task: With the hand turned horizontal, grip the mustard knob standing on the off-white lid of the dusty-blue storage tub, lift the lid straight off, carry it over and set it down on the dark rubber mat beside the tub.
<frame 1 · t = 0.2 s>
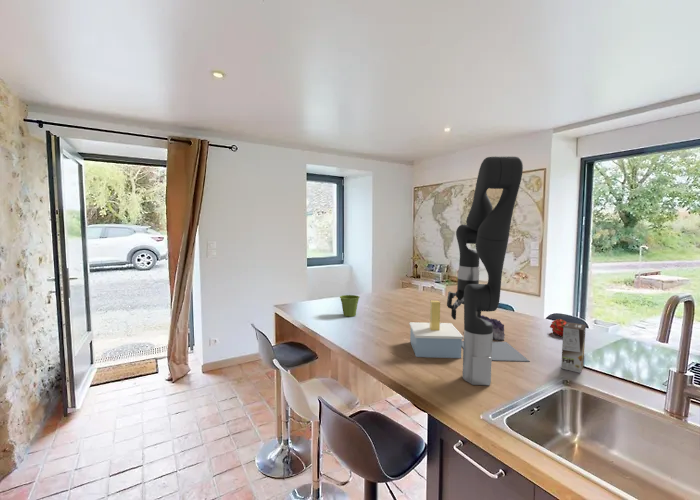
hand: (465, 319, 129), 17 cm above the worktop, fingers open, 8 cm apart
tub: (434, 349, 145), on the worktop
lid: (434, 331, 145), point 8 cm above the worktop, touching tub
plant pot: (349, 315, 200), on the worktop
geode: (487, 335, 167), on the worktop
coffee box: (572, 367, 128), on the worktop
mat: (490, 350, 144), on the worktop
dragon fruit: (561, 335, 166), on the worktop
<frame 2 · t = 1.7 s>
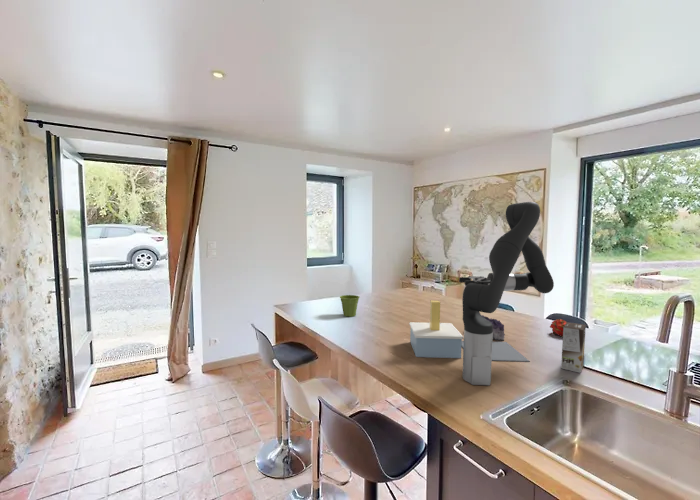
hand: (462, 281, 143), 30 cm above the worktop, fingers open, 8 cm apart
nothing on the worktop moved.
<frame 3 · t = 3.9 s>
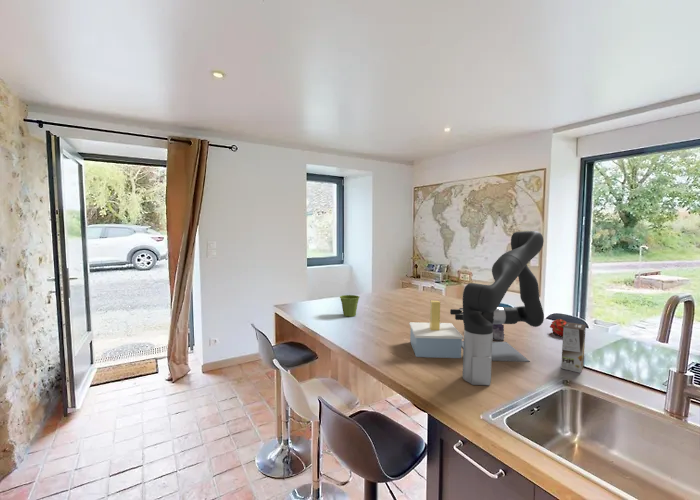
hand: (452, 314, 144), 16 cm above the worktop, fingers open, 8 cm apart
nothing on the worktop moved.
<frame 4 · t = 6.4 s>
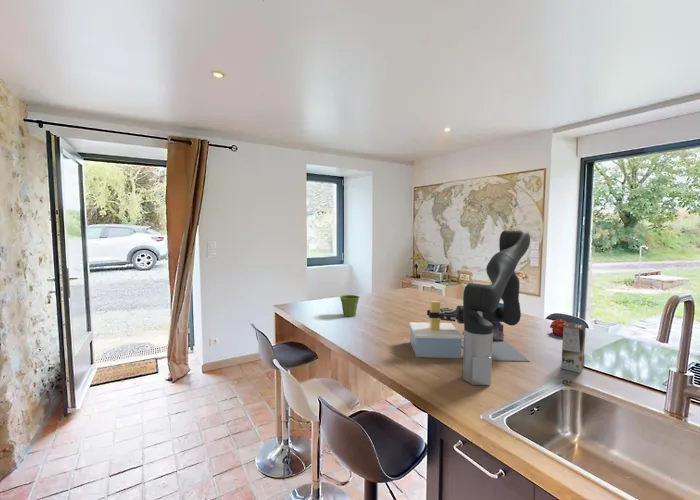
hand: (428, 313, 144), 16 cm above the worktop, fingers closed on lid, 3 cm apart
lid: (434, 331, 145), point 8 cm above the worktop, touching gripper, tub
everything else where it was.
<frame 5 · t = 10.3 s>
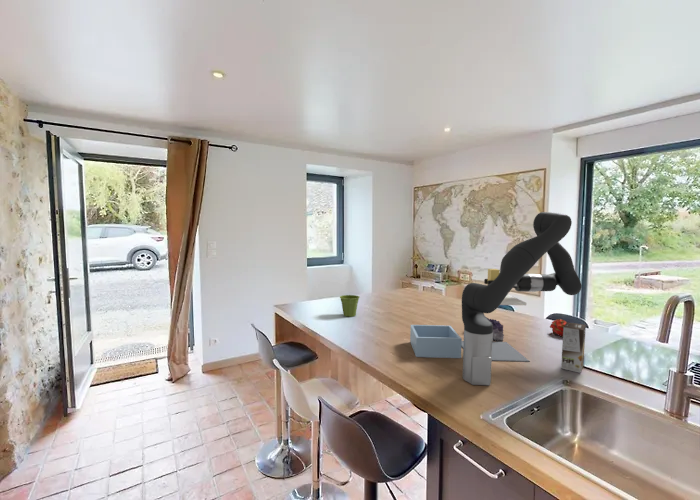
hand: (486, 282, 142), 30 cm above the worktop, fingers closed on lid, 3 cm apart
lid: (492, 299, 143), point 22 cm above the worktop, touching gripper
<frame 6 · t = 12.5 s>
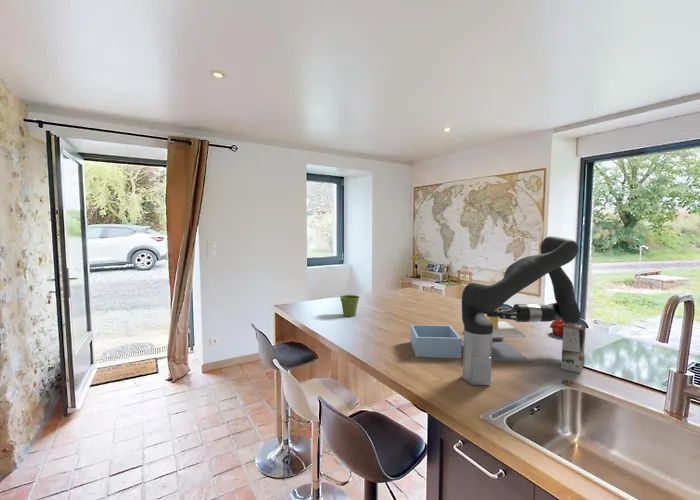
hand: (485, 312, 143), 17 cm above the worktop, fingers closed on lid, 3 cm apart
lid: (491, 330, 144), point 9 cm above the worktop, touching gripper
when the fingers open (9 cm above the worktop, at t = 14.3 s): lid drops 1 cm, resting on mat.
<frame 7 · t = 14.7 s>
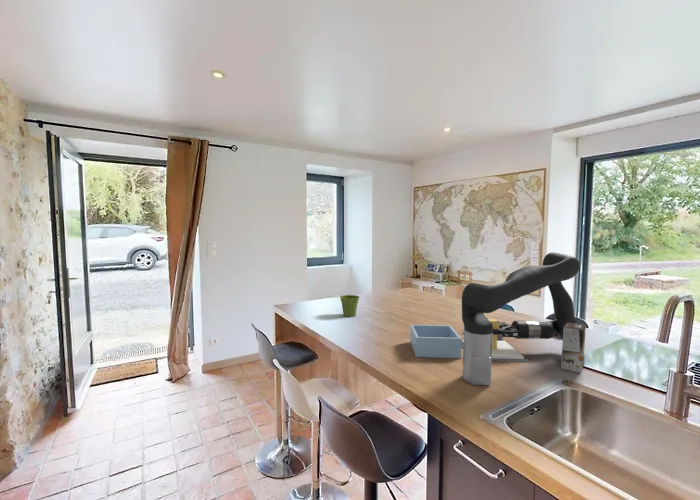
hand: (486, 328, 144), 10 cm above the worktop, fingers open, 7 cm apart
lid: (490, 350, 144), resting on mat
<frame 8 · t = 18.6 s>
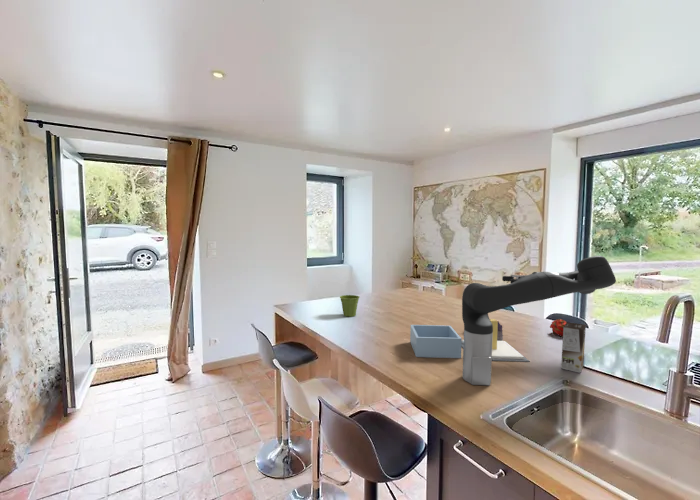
hand: (506, 280, 146), 30 cm above the worktop, fingers open, 8 cm apart
at the end: lid inside the target area (0.0 cm from its centre), resting on mat; lid tilted 0°; the gripper is holding nothing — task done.
